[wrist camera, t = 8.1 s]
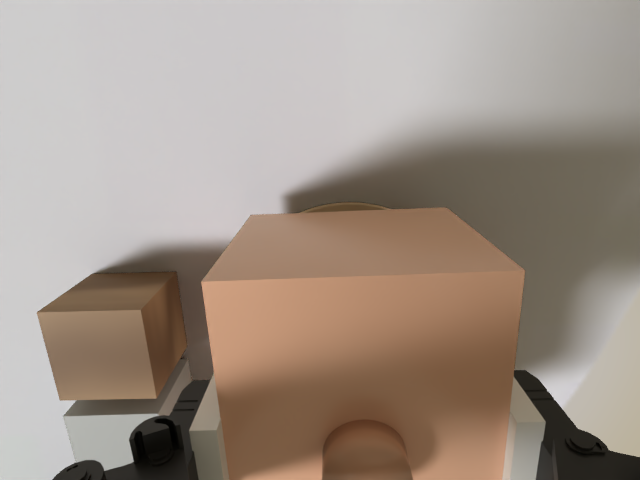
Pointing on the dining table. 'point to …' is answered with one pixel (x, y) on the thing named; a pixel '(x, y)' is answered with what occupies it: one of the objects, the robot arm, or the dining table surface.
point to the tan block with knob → (363, 346)
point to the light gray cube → (118, 421)
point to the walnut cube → (115, 336)
